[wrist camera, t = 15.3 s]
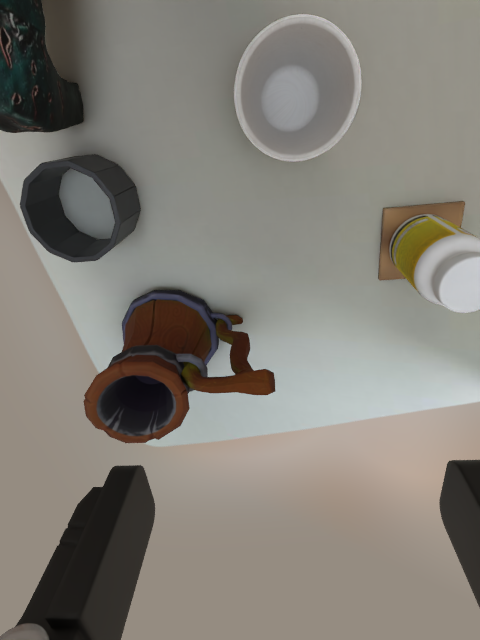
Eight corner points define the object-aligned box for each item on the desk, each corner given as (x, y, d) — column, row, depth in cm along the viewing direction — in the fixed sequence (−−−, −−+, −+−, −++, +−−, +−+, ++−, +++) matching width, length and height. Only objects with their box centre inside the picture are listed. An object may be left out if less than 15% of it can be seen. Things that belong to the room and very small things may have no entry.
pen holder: (42, 160, 37) (5, 167, 32) (127, 150, 36) (104, 156, 31) (70, 246, 42) (41, 265, 36) (147, 239, 41) (129, 258, 35)
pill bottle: (383, 273, 40) (421, 322, 30) (392, 213, 37) (436, 247, 27) (445, 271, 40) (502, 321, 30) (458, 211, 37) (526, 245, 27)
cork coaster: (383, 208, 37) (384, 209, 37) (463, 201, 37) (465, 202, 36) (378, 278, 41) (379, 280, 40) (451, 273, 40) (453, 275, 40)
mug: (262, 263, 41) (259, 333, 28) (282, 351, 46) (287, 445, 33) (110, 295, 44) (43, 371, 31) (145, 374, 49) (100, 469, 36)
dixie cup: (355, 106, 34) (387, 102, 25) (280, 170, 36) (284, 187, 28) (300, 16, 31) (313, -25, 22) (223, 93, 34) (207, 84, 25)
